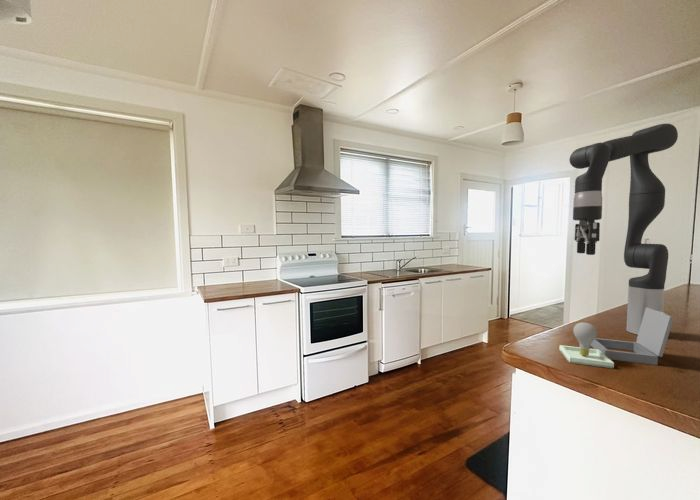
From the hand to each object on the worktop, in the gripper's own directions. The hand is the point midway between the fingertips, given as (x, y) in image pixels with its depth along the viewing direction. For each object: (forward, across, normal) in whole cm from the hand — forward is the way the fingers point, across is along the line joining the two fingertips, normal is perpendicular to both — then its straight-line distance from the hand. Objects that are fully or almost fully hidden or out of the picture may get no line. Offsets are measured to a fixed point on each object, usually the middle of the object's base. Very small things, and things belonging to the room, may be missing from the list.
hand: (585, 253), depth 98 cm
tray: (+30, -17, +4) cm, 35 cm away
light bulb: (+30, -16, +4) cm, 34 cm away
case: (+30, -9, -7) cm, 32 cm away
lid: (+22, -9, -14) cm, 27 cm away
